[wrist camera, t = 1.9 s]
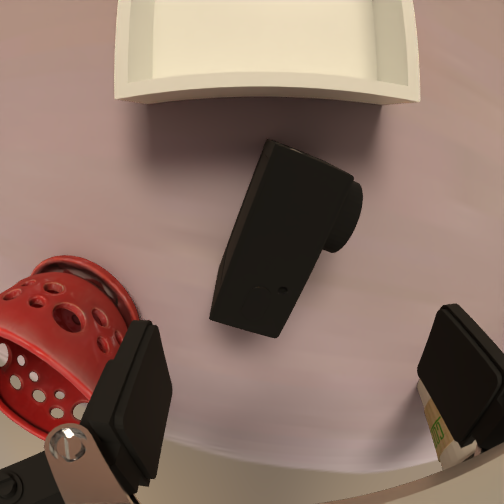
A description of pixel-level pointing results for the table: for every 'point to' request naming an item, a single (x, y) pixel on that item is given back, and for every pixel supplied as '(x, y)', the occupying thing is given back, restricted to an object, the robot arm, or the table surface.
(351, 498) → the robot arm
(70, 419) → the plant pot
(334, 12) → the box
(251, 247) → the digital camera
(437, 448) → the coffee cup
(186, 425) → the table surface
